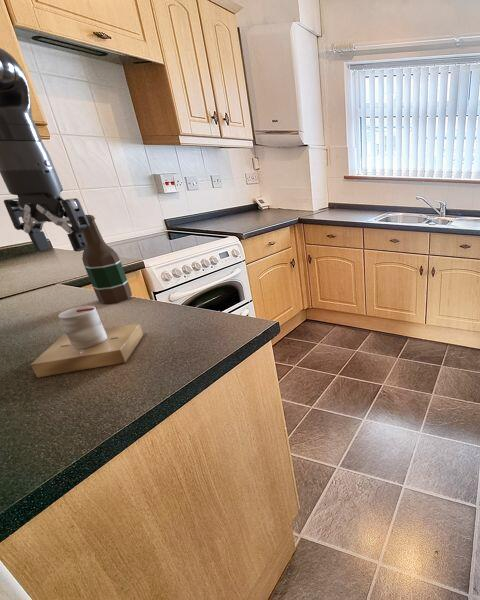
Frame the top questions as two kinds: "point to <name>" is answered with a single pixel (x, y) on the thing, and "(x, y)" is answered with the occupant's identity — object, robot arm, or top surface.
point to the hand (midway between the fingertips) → (62, 250)
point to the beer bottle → (104, 267)
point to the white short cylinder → (83, 326)
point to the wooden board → (88, 352)
